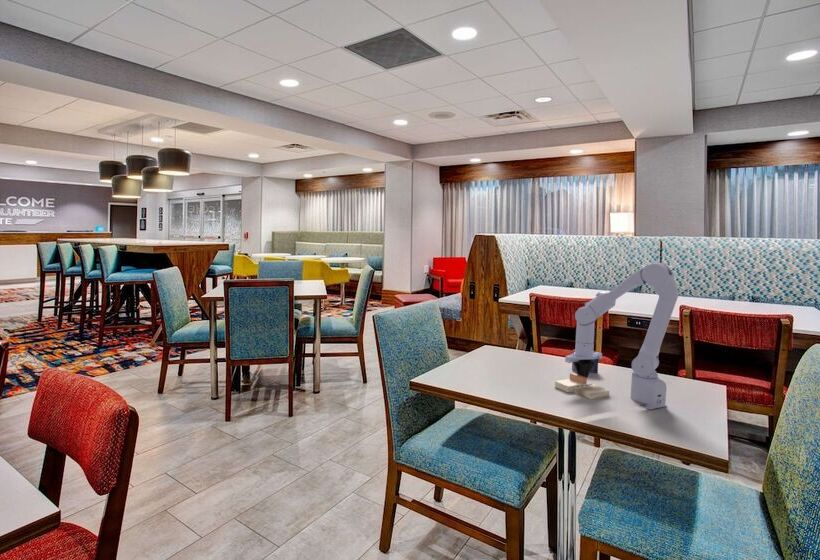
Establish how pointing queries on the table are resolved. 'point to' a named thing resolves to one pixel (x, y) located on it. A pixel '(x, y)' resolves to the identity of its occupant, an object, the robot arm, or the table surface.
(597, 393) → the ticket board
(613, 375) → the table surface
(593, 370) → the flask
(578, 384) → the cream block with bar
